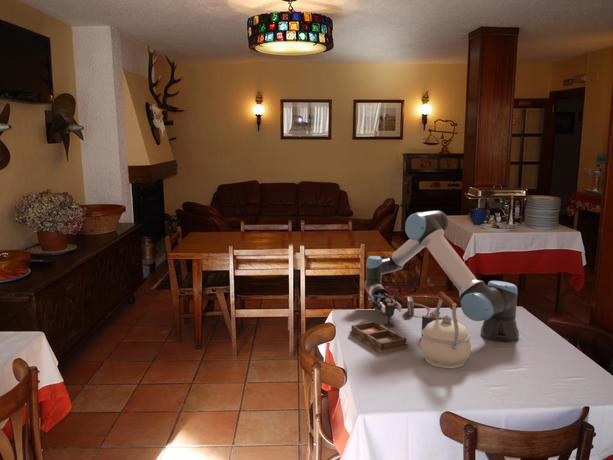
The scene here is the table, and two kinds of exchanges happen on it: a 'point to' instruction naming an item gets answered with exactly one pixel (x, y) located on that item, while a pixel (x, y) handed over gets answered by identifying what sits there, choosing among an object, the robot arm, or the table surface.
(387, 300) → the sundae
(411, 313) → the decorative sculpture
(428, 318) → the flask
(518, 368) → the table surface
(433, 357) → the kettle
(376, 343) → the crate
